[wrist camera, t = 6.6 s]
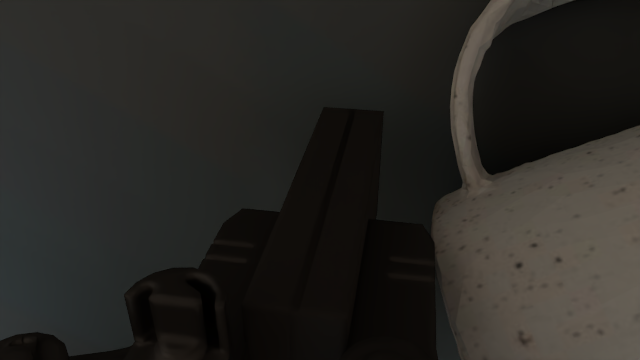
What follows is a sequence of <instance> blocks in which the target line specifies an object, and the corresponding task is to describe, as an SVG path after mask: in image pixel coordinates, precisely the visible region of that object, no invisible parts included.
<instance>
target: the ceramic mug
mask: <svg viewBox="0 0 640 360" xmlns="http://www.w3.org/2000/svg"><path fill="white" fill-rule="evenodd" d="M571 1H574V0H491V1H490V2H489V4H488V5H487V7H486V8H485V9H484V11H483V12H482V13H481V15H480V16H479V17H478V19H477V20H476V21H475V22H474V24H473V25H472V26H471V28H470V30H469V33H468V35H467V37H466V40H465V42H464V45H463V47H462V50H461V52H460V55H459V57H458V61H457V64H456V68H455V71H454V75H453V83H452V87H451V101H450V117H451V133H452V138H453V143H454V148H455V153H456V159H457V164H458V168H459V171H460V174H461V178H462V181H463V182H462V188H460V189H458V190H456V191H454V192H452V193H449V194H447V195H445V196H444V197H442V198H441V199H440V200H439V201H437V202H436V204H435V207H434V210H433V215H432V224H431V238H432V239H433V241H434V242H435V267H436V275H437V279H438V283H439V287H440V290H441V294H442V298H443V301H444V305H445V308H446V311H447V315H448V319H449V323H450V327H451V330H452V332H453V335H454V337H455V340H456V342H457V347H458V352H459V355H460V358H461V360H640V125H639V126H636V127H633V128H630V129H627V130H624V131H621V132H619V133H617V134H614V135H610V136H606V137H604V138H601V139H598V140H594V141H591V142H588V143H586V144H583V145H581V146H578V147H575V148H571V149H567V150H564V151H561V152H558V153H555V154H552V155H549V156H547V157H545V158H542V159H539V160H536V161H534V162H530V163H524V164H522V165H521V166H518V167H515V168H513V169H511V170H509V171H505V172H502V173H497V174H495V175H490V174H487V172H486V171H485V169H484V168H483V166H482V165H481V160H480V156H479V152H478V148H477V143H476V137H475V131H474V121H473V90H474V81H475V78H476V74H477V72H478V70H479V68H480V65H481V62H482V59H483V56H484V53H485V52H486V50H487V49H488V48H489V47H490V46H491V43H492V40H493V39H494V38H495V37H496V36H498V35H499V34H500V33H501V32H502V31H503V30H504V29H505V28H507V27H508V26H510V25H511V24H513V23H516V22H519V21H522V20H525V19H527V18H529V17H532V16H534V15H537V14H539V13H541V12H544V11H546V10H548V9H551V8H553V7H556V6H559V5H562V4H565V3H568V2H571Z"/></svg>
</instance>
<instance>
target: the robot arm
mask: <svg viewBox="0 0 640 360" xmlns="http://www.w3.org/2000/svg"><path fill="white" fill-rule="evenodd" d="M383 115H384V111H371V110H356V109H342V108H328V107H324V108H323V110H322V113H321V115H320V117H319V120H318V122H317V125H316V127H315V129H314V132H313V134H312V137H311V139H310V141H309V144H308V146H307V149H306V151H305V153H304V156H303V158H302V161H301V163H300V165H299V168H298V170H297V173H296V175H295V177H294V180H293V182H292V185H291V187H290V189H289V192H288V194H287V197H286V199H285V201H284V204H283V206H282V209H281V211H280V212H274V211H264V210H254V209H241V210H240V211H239V212H237V213H236V214H235V215H233V216H232V217H231V218H229V219H228V220H227V221H225V222H224V223H223V225H222V227H221V229H220V230H219V232H218V234H217V236H216V238H215V239H214V244H212V245H211V246H210V248H209V250H208V252H207V254H206V257H205V259H203V261H202V263H201V264H200V266H199V268H198V269H196V268H171V269H167V270H163V271H159V272H155V273H153V274H151V275H149V276H147V277H145V278H143V279H142V280H140V281H138V282H136V283H135V284H134V285H133V286H132V287H131V288H130V289H129V290H128V291H127V292H126V293H125V294H124V297H125V301H126V306H127V310H128V314H129V318H130V323H131V327H132V331H133V335H134V340H135V342H134V343H133V345H132V346H130V347H127V348H123V349H118V350H114V351H107V352H100V353H92V354H85V355H77V356H68V353H67V350H66V347H65V344H64V343H63V342H62V341H60V340H59V339H58V338H56V337H55V336H53V335H49V334H43V333H38V332H35V333H27V334H18V335H14V336H12V337H9V338H6V339H4V340H1V341H0V360H438V356H437V350H436V309H435V242H434V241H433V239H432V238H431V236H430V235H429V233H428V232H427V230H426V229H425V227H424V225H423V224H414V223H404V222H394V221H384V220H376V216H377V205H378V190H379V175H380V160H381V145H382V130H383Z"/></svg>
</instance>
